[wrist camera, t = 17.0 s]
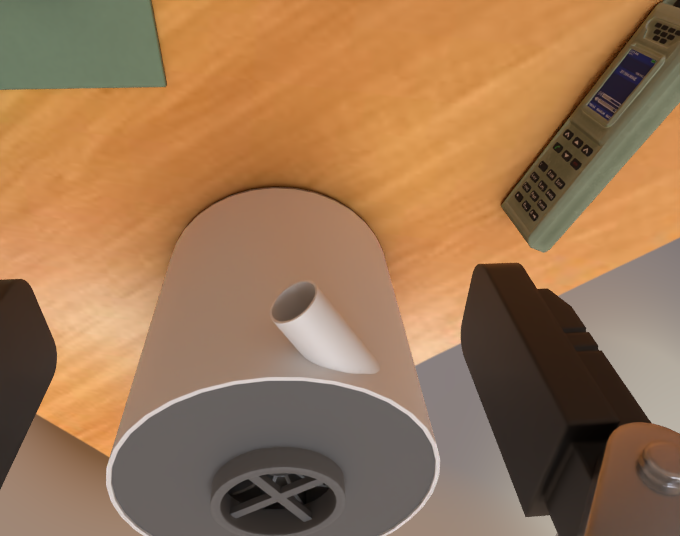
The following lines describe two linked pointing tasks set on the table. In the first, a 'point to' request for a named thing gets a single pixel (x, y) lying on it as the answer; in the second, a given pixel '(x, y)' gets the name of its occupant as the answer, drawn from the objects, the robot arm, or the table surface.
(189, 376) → the humidifier
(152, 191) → the table surface
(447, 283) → the table surface
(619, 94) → the handheld radio
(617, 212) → the table surface
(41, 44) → the mat
